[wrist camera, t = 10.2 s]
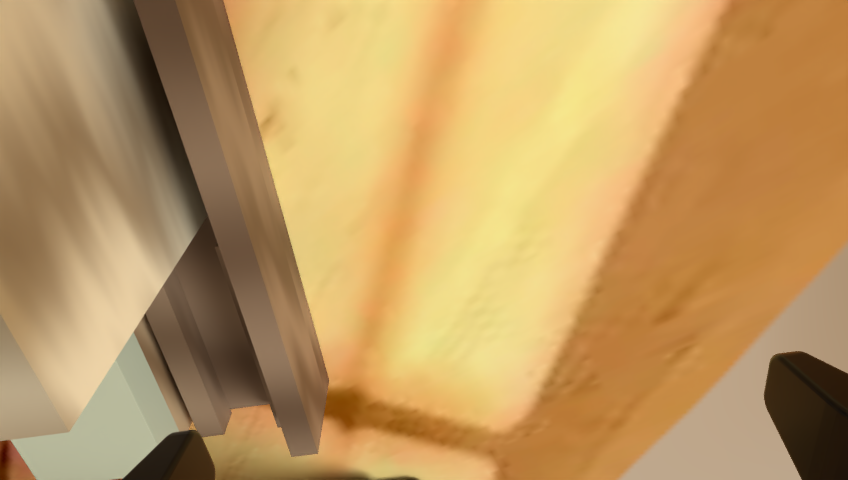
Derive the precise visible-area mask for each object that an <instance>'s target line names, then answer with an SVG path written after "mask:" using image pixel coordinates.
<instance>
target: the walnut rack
mask: <svg viewBox="0 0 848 480" xmlns="http://www.w3.org/2000/svg"><path fill="white" fill-rule="evenodd" d="M133 1H134V4H135V6H136V9H137V12H138V15H139V18H140V21H141V24H142V27H143V30H144V32H145V35H146V38H147V41H148V44H149V47H150V50H151V53H152V55H153V58H154V61H155V64H156V67H157V70H158V73H159V76H160V79H161V81H162V84H163V87H164V90H165V93H166V96H167V99H168V102H169V105H170V107H171V110H172V113H173V116H174V119H175V122H176V125H177V128H178V131H179V133H180V136H181V139H182V142H183V145H184V148H185V151H186V154H187V156H188V159H189V162H190V165H191V168H192V171H193V174H194V177H195V180H196V182H197V185H198V188H199V191H200V194H201V197H202V200H203V203H204V206H205V208H206V211H207V214H208V216H207V217H206V219H205V220H204V222H203V224H202V225H201V227H200V228H199V230H198V231H197V233H196V235H195V236H194V238H193V239H192V241H191V242H190V244H189V246H188V247H187V249H186V250H185V252H184V253H183V255H182V256H181V258H180V260H179V261H178V263H177V264H176V266H175V267H174V269H173V271H172V272H171V274H170V275H169V277H168V278H167V280H166V282H165V283H164V285H163V286H162V288H161V289H160V291H159V292H158V294H157V296H156V297H155V299H154V300H153V302H152V303H151V305H150V307H149V308H148V310H147V311H146V313H145V314H146V316H147V319H148V321H149V323H150V326H151V328H152V330H153V332H154V335H155V337H156V339H157V341H158V344H159V346H160V348H161V350H162V353H163V355H164V357H165V359H166V362H167V364H168V366H169V369H170V371H171V373H172V375H173V378H174V380H175V382H176V384H177V387H178V389H179V391H180V393H181V396H182V398H183V400H184V403H185V405H186V407H187V409H188V412H189V414H190V416H191V418H192V421H193V423H194V425H195V427H196V430H197V431H198V432H199V433H200V435H201V436H202V437H208V436H216V435H223V434H225V431H226V428H227V425H228V422H229V419H230V416H231V413H232V412H231V410H230V409H235V408H243V407H251V406H258V405H266V404H270V406H271V409H272V412H273V415H274V418H275V421H276V424H277V426H278V427H281V428H282V431H283V433H284V436H285V439H286V442H287V445H288V448H289V451H290V454H291V457H294V456H302V455H310V454H318V450H319V443H320V437H321V430H322V424H323V417H324V410H325V404H326V397H327V390H328V384H329V378H328V375H327V371H326V368H325V364H324V360H323V357H322V353H321V350H320V346H319V343H318V339H317V335H316V332H315V328H314V325H313V321H312V317H311V314H310V310H309V307H308V303H307V300H306V296H305V292H304V289H303V285H302V282H301V278H300V275H299V271H298V267H297V264H296V260H295V257H294V253H293V249H292V246H291V242H290V239H289V235H288V232H287V228H286V224H285V221H284V217H283V214H282V210H281V206H280V203H279V199H278V196H277V192H276V189H275V185H274V181H273V178H272V174H271V171H270V167H269V163H268V160H267V156H266V153H265V149H264V146H263V142H262V138H261V135H260V131H259V128H258V124H257V120H256V117H255V113H254V110H253V106H252V103H251V99H250V95H249V92H248V88H247V85H246V81H245V77H244V74H243V70H242V67H241V63H240V60H239V56H238V52H237V49H236V45H235V42H234V38H233V35H232V31H231V27H230V24H229V20H228V17H227V13H226V9H225V6H224V2H223V0H133Z"/></svg>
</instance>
